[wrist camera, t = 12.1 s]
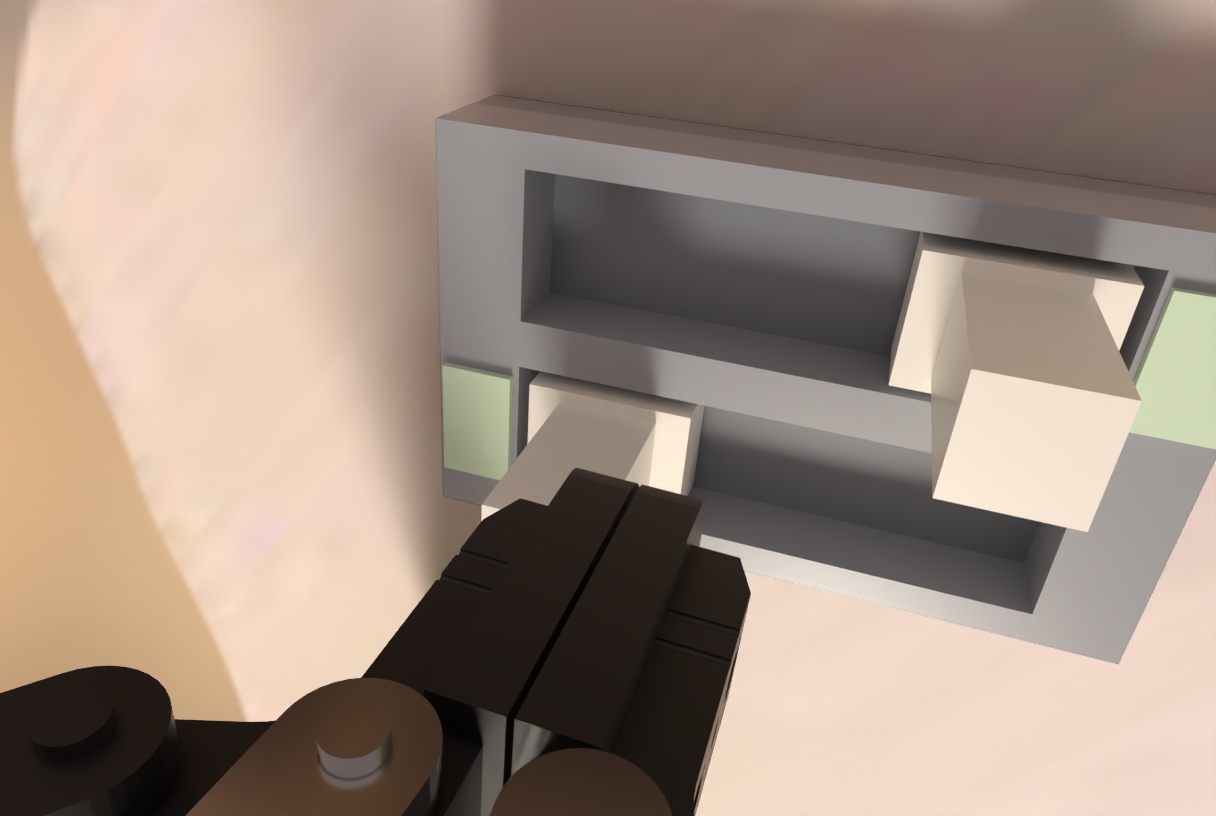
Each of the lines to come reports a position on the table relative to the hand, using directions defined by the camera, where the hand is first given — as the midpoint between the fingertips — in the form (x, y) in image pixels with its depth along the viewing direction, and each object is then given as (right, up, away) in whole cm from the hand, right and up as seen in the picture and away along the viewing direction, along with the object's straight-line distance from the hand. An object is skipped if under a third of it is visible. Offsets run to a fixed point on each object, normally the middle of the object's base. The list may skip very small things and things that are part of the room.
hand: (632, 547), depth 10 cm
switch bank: (+5, +3, +13) cm, 14 cm away
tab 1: (0, +1, +14) cm, 14 cm away
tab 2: (+8, +4, +9) cm, 13 cm away
